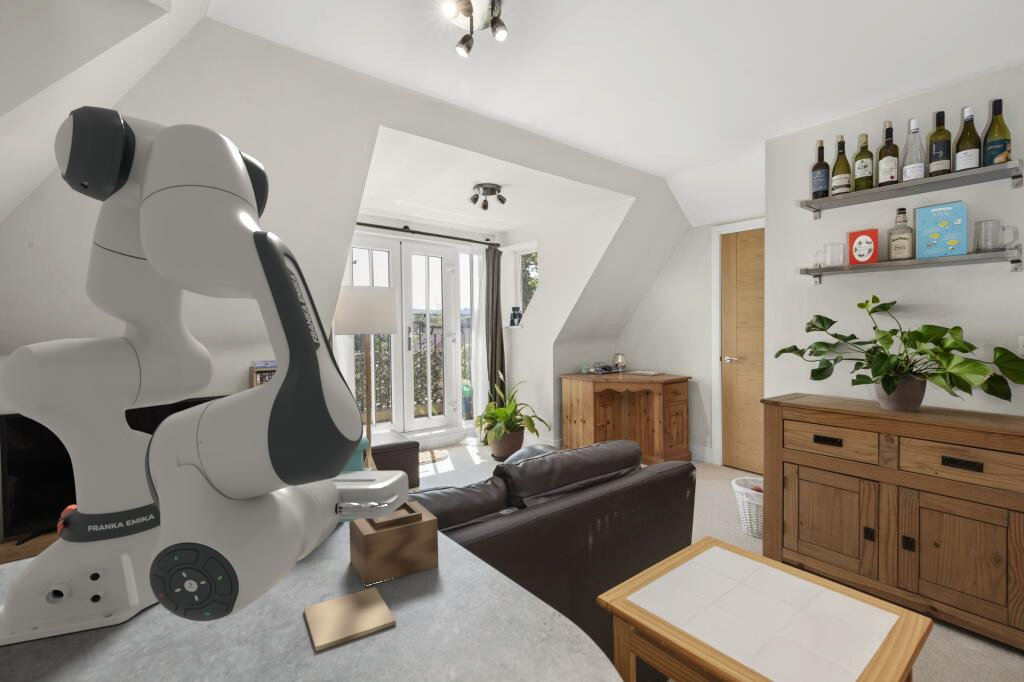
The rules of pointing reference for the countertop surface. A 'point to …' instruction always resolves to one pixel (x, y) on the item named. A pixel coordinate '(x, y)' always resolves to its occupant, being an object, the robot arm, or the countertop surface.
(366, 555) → the walnut box
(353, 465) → the stopper cap
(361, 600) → the cork mat
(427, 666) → the countertop surface
